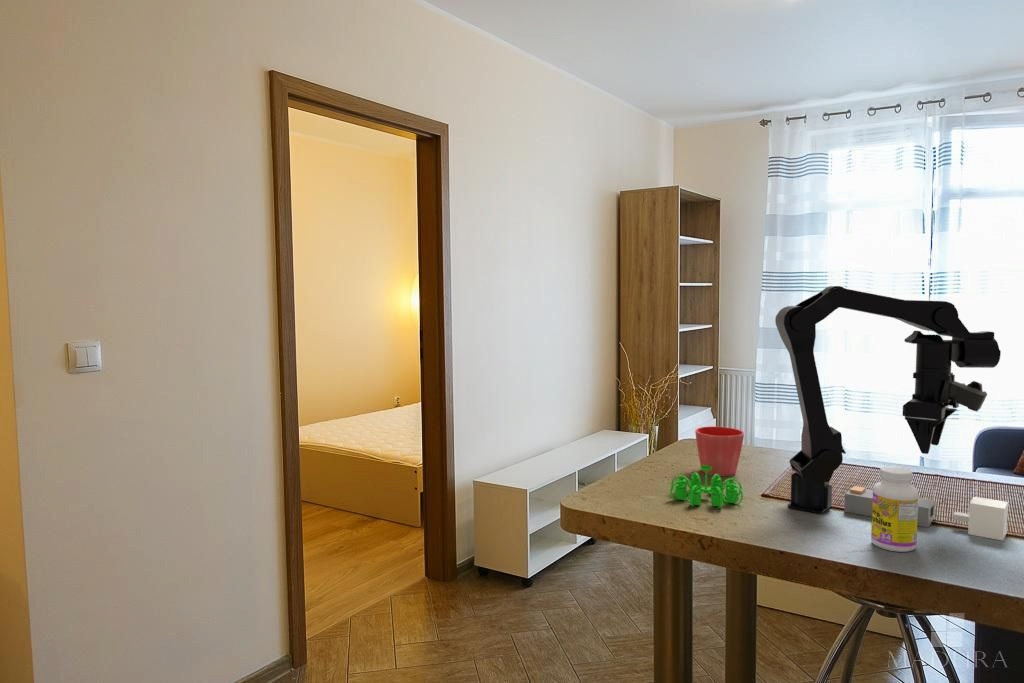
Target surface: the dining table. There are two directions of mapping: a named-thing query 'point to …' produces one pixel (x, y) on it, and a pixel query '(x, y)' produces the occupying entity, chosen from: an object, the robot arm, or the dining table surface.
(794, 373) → the robot arm
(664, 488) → the dining table surface
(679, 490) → the chandelier
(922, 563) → the dining table surface
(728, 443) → the flower pot
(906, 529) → the supplement bottle
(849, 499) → the power strip
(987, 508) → the charger
